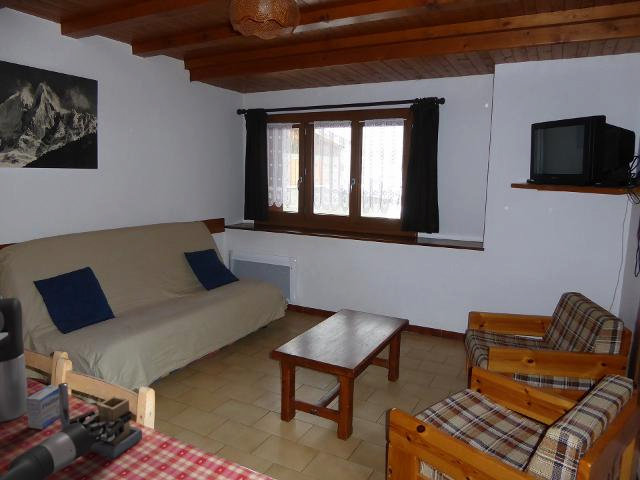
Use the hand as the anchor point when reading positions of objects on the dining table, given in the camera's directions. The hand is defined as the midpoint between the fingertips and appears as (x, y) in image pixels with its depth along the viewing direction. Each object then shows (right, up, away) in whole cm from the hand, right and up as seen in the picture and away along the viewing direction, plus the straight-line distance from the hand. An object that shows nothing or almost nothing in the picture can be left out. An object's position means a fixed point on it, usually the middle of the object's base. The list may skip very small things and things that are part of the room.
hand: (122, 411), depth 116 cm
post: (-13, -7, -1) cm, 15 cm away
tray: (-1, -8, -1) cm, 8 cm away
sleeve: (-1, -6, -1) cm, 7 cm away
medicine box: (-24, -6, +8) cm, 26 cm away
